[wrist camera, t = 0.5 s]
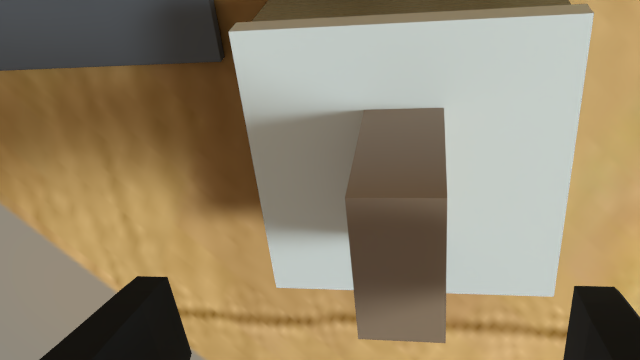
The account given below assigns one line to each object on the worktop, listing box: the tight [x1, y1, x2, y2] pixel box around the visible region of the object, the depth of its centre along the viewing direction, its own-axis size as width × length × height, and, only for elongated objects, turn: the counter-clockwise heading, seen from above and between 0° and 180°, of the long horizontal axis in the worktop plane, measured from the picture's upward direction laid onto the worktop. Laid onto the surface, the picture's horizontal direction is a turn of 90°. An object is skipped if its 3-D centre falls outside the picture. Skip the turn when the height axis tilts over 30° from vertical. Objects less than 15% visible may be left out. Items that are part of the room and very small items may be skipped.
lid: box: [229, 4, 594, 343], centre depth 15 cm, size 8×8×5 cm
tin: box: [252, 0, 571, 22], centre depth 18 cm, size 8×8×4 cm
